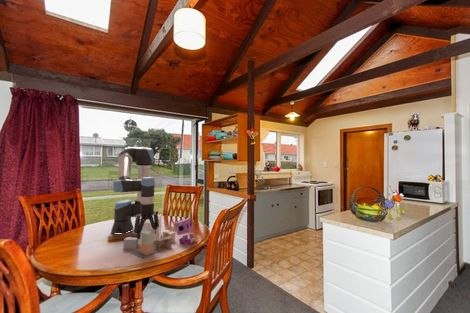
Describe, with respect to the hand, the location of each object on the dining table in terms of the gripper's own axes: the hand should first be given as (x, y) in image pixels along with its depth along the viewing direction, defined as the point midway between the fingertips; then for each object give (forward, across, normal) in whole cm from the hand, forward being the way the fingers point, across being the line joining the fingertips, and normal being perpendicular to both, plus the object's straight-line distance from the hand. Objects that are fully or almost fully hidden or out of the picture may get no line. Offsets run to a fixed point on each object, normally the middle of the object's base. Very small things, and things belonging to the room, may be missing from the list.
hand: (146, 241), depth 129 cm
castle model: (+7, +16, +20) cm, 27 cm away
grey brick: (+7, -1, +14) cm, 16 cm away
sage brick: (0, 0, 0) cm, 0 cm away
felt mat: (+7, 0, 0) cm, 7 cm away
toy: (+7, +27, -4) cm, 28 cm away
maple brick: (+7, +21, +6) cm, 23 cm away
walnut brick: (+7, +11, -2) cm, 13 cm away
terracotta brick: (+6, 0, 0) cm, 6 cm away
